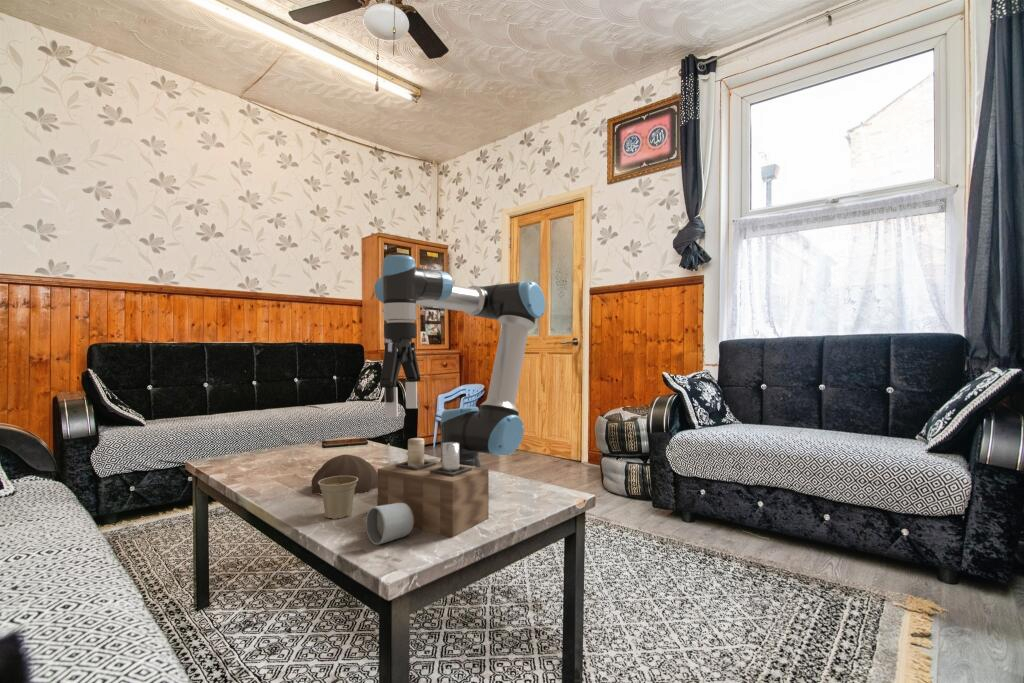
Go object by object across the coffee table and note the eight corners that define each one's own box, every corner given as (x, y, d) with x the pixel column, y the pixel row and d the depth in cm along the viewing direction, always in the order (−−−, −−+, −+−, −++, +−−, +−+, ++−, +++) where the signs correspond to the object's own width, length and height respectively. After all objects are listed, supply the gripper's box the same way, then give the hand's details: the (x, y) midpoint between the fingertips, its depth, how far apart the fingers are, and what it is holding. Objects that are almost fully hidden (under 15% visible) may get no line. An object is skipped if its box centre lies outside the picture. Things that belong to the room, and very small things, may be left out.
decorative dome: (306, 500, 132) (307, 463, 132) (314, 482, 151) (314, 450, 151) (379, 494, 138) (380, 459, 138) (378, 477, 157) (378, 446, 157)
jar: (447, 509, 123) (447, 462, 123) (438, 501, 130) (438, 456, 131) (480, 505, 127) (480, 459, 127) (469, 496, 134) (469, 453, 134)
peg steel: (449, 487, 117) (449, 441, 117) (462, 489, 115) (462, 443, 115) (438, 491, 113) (438, 444, 113) (452, 493, 111) (452, 445, 111)
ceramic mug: (416, 538, 104) (416, 502, 105) (383, 549, 98) (383, 511, 99) (389, 527, 111) (389, 493, 112) (357, 537, 105) (357, 501, 106)
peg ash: (415, 480, 122) (415, 437, 123) (427, 483, 120) (427, 438, 120) (404, 484, 119) (404, 439, 119) (416, 486, 117) (416, 441, 117)
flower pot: (314, 513, 121) (315, 478, 121) (353, 506, 126) (353, 473, 126) (321, 524, 113) (321, 487, 113) (362, 517, 118) (362, 481, 118)
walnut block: (417, 503, 128) (417, 455, 129) (488, 518, 117) (488, 466, 117) (377, 518, 116) (377, 466, 117) (452, 537, 105) (452, 478, 105)
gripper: (403, 324, 126) (405, 405, 126) (362, 320, 101) (364, 421, 101) (430, 323, 125) (432, 404, 125) (396, 319, 100) (398, 421, 100)
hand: (402, 412), depth 113 cm, fingers open, 13 cm apart
